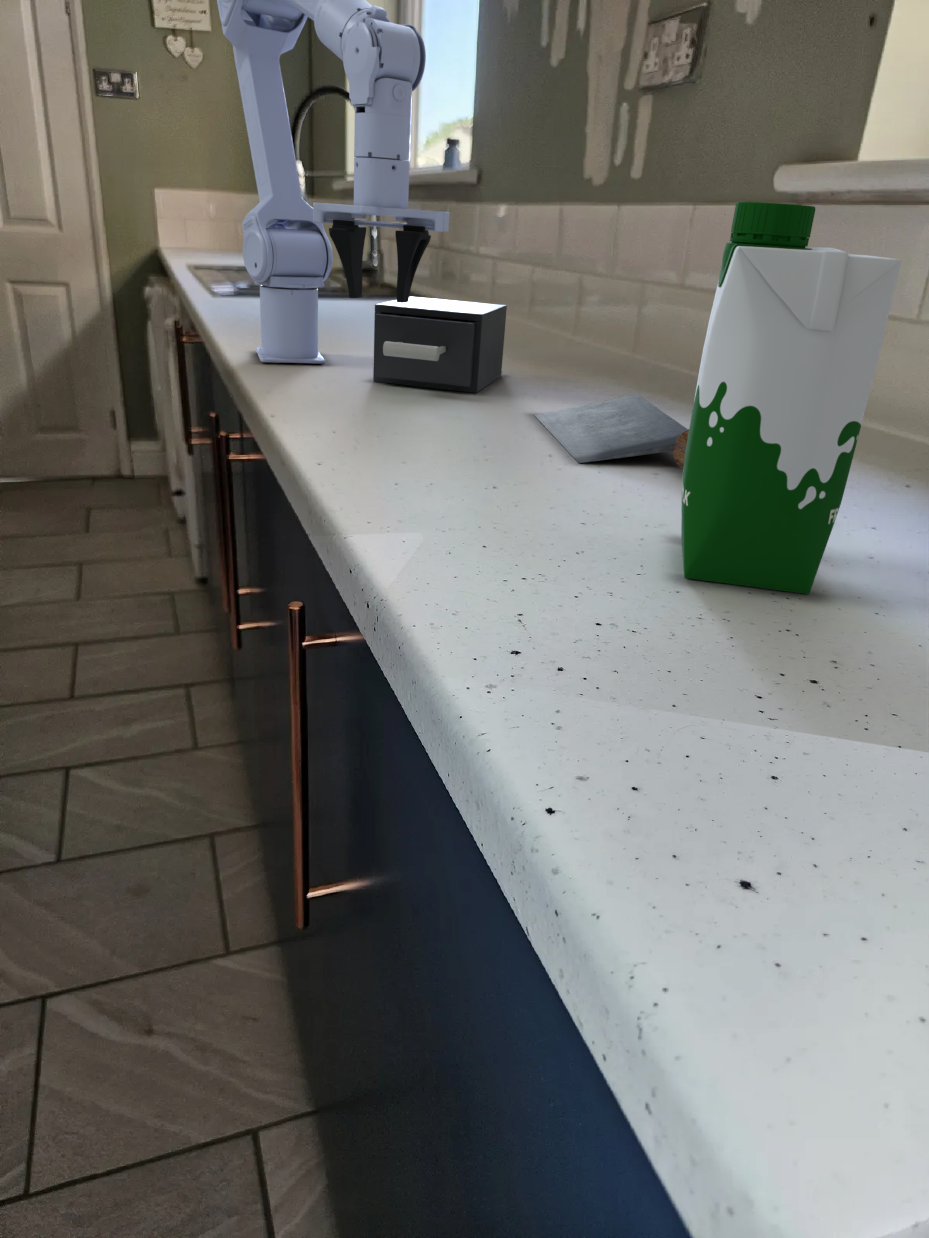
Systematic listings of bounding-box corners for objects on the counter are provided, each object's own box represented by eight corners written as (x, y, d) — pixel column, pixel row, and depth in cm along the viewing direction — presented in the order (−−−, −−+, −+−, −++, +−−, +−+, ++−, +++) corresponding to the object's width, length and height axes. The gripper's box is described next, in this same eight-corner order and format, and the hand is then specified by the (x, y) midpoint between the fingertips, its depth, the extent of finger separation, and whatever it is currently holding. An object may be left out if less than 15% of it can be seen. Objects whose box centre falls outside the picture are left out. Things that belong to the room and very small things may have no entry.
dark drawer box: (458, 394, 94) (462, 328, 91) (358, 382, 96) (359, 318, 93) (492, 371, 109) (497, 314, 106) (405, 362, 111) (407, 306, 108)
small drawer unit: (476, 393, 100) (482, 314, 96) (372, 381, 102) (374, 304, 99) (501, 375, 112) (507, 305, 108) (407, 365, 114) (410, 296, 111)
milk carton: (666, 534, 58) (723, 203, 50) (807, 552, 57) (890, 214, 48) (668, 582, 50) (735, 199, 42) (831, 604, 49) (935, 211, 40)
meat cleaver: (532, 415, 91) (536, 375, 89) (636, 418, 92) (642, 380, 91) (632, 524, 61) (641, 468, 59) (783, 526, 62) (796, 472, 61)
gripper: (300, 153, 88) (302, 296, 93) (439, 161, 85) (432, 308, 91) (327, 158, 94) (327, 292, 100) (457, 166, 91) (449, 303, 97)
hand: (378, 299), depth 95 cm, fingers open, 5 cm apart
